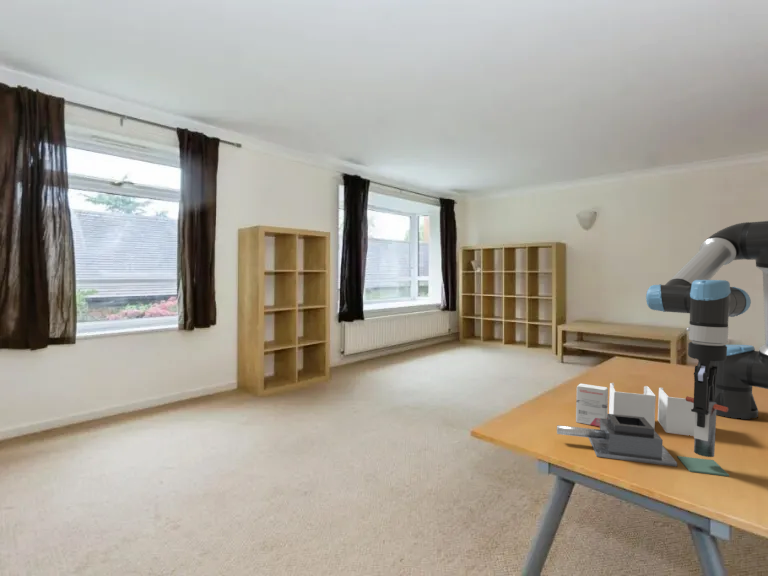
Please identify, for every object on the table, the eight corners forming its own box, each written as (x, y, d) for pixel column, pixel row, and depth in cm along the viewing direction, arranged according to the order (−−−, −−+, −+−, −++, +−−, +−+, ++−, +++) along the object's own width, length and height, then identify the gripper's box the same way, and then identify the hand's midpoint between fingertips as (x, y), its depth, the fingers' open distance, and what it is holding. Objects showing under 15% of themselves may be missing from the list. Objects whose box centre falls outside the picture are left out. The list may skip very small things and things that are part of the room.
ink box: (608, 423, 133) (609, 386, 133) (605, 428, 129) (607, 390, 129) (578, 418, 138) (579, 382, 137) (575, 422, 134) (576, 385, 133)
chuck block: (658, 444, 118) (659, 415, 117) (676, 466, 104) (678, 435, 104) (554, 432, 126) (555, 406, 125) (559, 452, 112) (560, 422, 112)
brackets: (613, 426, 131) (614, 391, 131) (608, 415, 142) (610, 382, 141) (710, 439, 122) (712, 401, 122) (698, 425, 132) (700, 391, 132)
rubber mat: (713, 461, 107) (713, 460, 107) (729, 476, 100) (729, 474, 100) (677, 457, 110) (677, 455, 109) (689, 471, 102) (689, 469, 102)
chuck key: (690, 445, 109) (692, 395, 108) (729, 459, 101) (732, 406, 100) (679, 447, 107) (682, 397, 107) (719, 462, 99) (721, 408, 99)
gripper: (696, 337, 112) (692, 424, 113) (680, 344, 100) (676, 441, 101) (732, 341, 106) (728, 432, 107) (720, 349, 94) (715, 451, 96)
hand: (703, 436), depth 104 cm, fingers closed on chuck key, 4 cm apart
